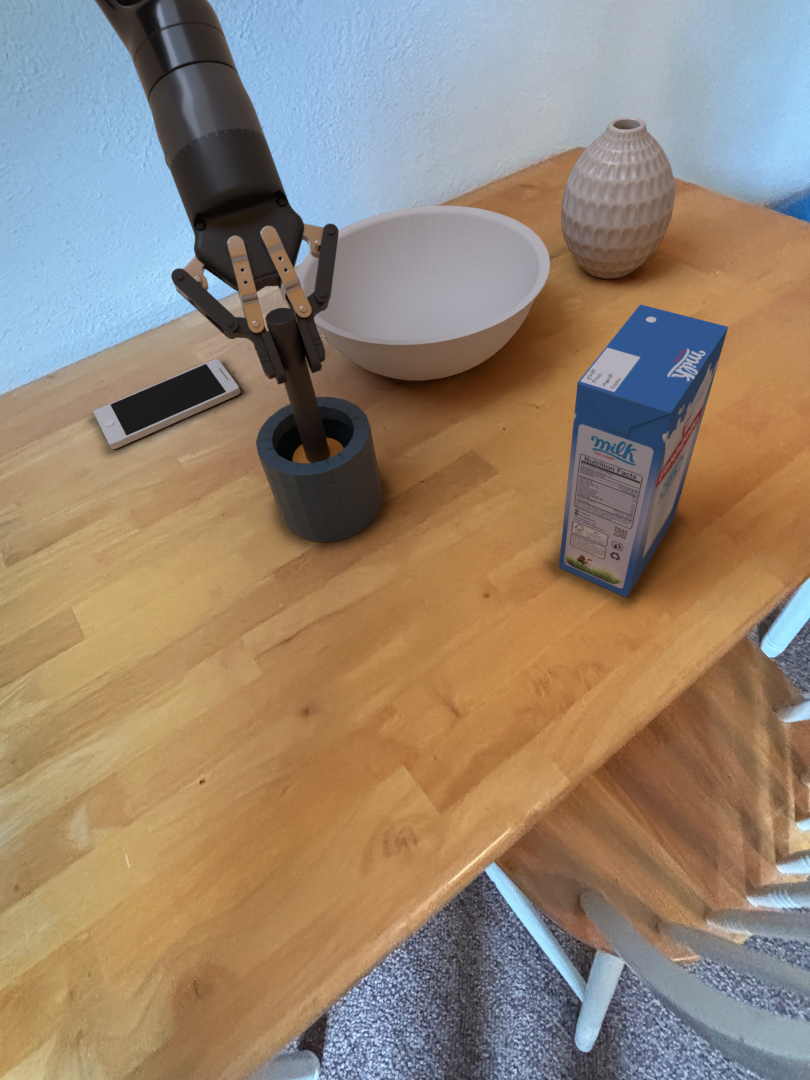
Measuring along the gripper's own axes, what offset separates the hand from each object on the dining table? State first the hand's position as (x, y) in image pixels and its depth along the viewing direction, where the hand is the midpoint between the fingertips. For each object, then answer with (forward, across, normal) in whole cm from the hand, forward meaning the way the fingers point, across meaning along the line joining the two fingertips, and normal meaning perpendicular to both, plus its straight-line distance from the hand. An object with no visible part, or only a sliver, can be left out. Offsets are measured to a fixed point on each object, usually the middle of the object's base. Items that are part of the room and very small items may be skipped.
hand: (299, 375), depth 55 cm
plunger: (+8, 0, +11) cm, 14 cm away
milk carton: (+22, +21, +2) cm, 31 cm away
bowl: (-2, +18, +26) cm, 32 cm away
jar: (+10, 0, +13) cm, 17 cm away
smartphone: (-6, -12, +30) cm, 33 cm away
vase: (-5, +45, +29) cm, 54 cm away
